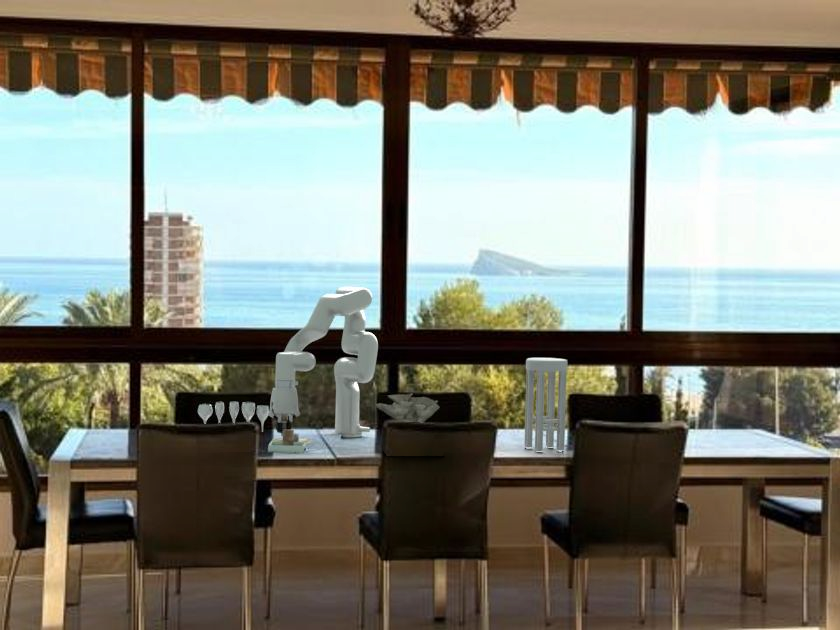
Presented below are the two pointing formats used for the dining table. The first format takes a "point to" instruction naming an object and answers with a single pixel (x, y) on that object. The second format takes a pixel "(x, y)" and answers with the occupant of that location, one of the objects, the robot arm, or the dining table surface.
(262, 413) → the goblet set
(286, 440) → the peg
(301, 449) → the tray
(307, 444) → the plate
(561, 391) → the stool
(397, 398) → the coral
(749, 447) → the dining table surface
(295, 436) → the crank
